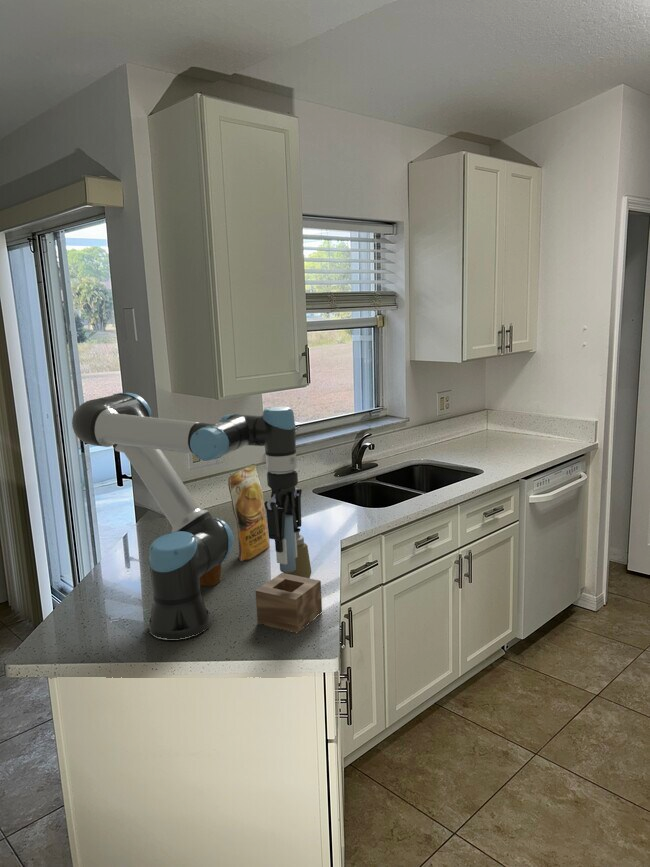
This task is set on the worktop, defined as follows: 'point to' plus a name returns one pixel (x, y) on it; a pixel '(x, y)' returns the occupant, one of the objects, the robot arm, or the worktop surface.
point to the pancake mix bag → (249, 512)
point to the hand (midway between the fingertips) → (287, 559)
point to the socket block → (288, 602)
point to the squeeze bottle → (301, 559)
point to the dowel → (289, 545)
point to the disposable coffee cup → (211, 576)
